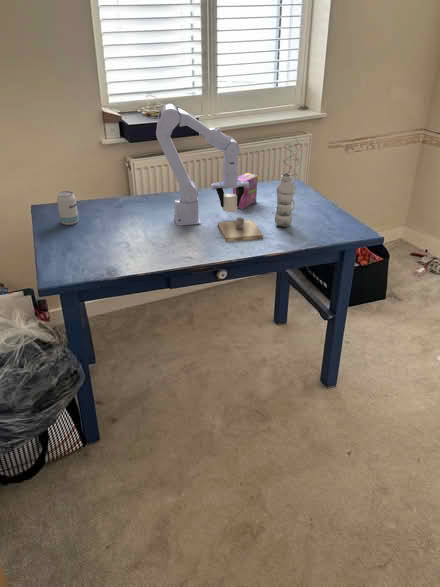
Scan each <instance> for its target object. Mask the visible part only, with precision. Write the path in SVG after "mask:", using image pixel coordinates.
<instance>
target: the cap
mask: <svg viewBox="0 0 440 587" xmlns="http://www.w3.org/2000/svg"><path fill="white" fill-rule="evenodd" d="M223 202H224V207H221V208H222V211H223V212H227V213H234V212H236V211H237V210H238V207H237V195H235V194H233V193H224V199H223Z"/></svg>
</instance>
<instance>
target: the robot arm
mask: <svg viewBox="0 0 440 587" xmlns="http://www.w3.org/2000/svg"><path fill="white" fill-rule="evenodd" d="M177 126H179V127H185V126H187V127H189V128H190V129H192V130H194V131H195V132H197V133H199V134H200V135H202V136H203V137H204V138H205V142H206V143H208V144H210V145H212V146H213V147H214V148H215V149H217V150H219V151H222V152H223V160H222V181H220V182H214V183H211V184H210V186H211V187H210V188H211V189H210V190H212V191H216V193H217V195H218V199H219V203H220V207H221V208H222V207H224V202H223V199H224V194H225V191H224V190H225V189H233V188H236V195H237V206H239V202H240V199H241V197H242V195H243V193H244V191H245V189H244V187H246V188H249V182H248V181H247V182H243V181H238V177H239V155H240V153H241V149H240V146H239V144H238V142H237V140H235V138H233V137H232V136H230V135H226V134H225V133H223V131H222V130H221V128H219V127H217V128H216V127H208V126H207V125H205V124H204V123H203V122H201V121H200V120H198V119H197V118H195V117H194V116H193V115H192V114H190V113H189V112H187V111H185V110H183V109H182V108H180V107H176V105H175V104H172V103H166V104H164V105H163V106H162V107H161V108H160V111H159V113H158V115H157V123H156V130H155V135H156V139H157V142H158V143H159V146H160V147H161V149H162V152H163V154H164V156H165V159H166V160H167V162H168V164H169V166H170V169H171V171H172V172H173V174H174V176H175V179H176V181H177V183H178V187H179V190H180V193H181V195H180V197H179V198H178V199H175V200H174V201H173V209H174V211H173V212H174V215H173V216H174V220H175V224H176V226H189V225H201V224H202V222H201V220H200V217H199V216H200V215H199V214H200V213H199V192H198V189H197V186H196V183H195V181H193V179H191V178H190V176H189V174H188V172H187V170H186V167H185V165H184V164H183V161H182V158H181V157H180V155H179V153H178V151H177V149H176V146H175V144H174V141H173V140H172V137H171V135H172V134H173V131H174V129H175V128H176V127H177Z"/></svg>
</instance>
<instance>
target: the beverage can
mask: <svg viewBox="0 0 440 587" xmlns="http://www.w3.org/2000/svg"><path fill="white" fill-rule="evenodd" d="M56 204H57V209H58V214H59V219H60V223H61V224H63V225H64V226H74V225H76V224H77V223H78V222H79V220H80V219H79V218H80V217H79V212H78V206H77V205H78V204H77V198H76V196H75V194H74V192H73V191H71V190H64V191H59V192H58V193H57V196H56Z"/></svg>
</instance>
